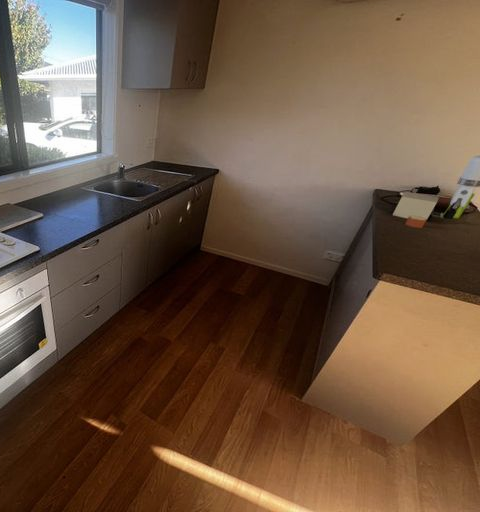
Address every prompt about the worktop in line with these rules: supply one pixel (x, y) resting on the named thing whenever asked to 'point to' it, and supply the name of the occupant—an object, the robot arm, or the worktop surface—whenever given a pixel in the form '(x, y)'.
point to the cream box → (415, 205)
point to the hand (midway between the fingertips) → (447, 218)
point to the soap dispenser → (460, 209)
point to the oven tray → (435, 215)
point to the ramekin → (415, 221)
